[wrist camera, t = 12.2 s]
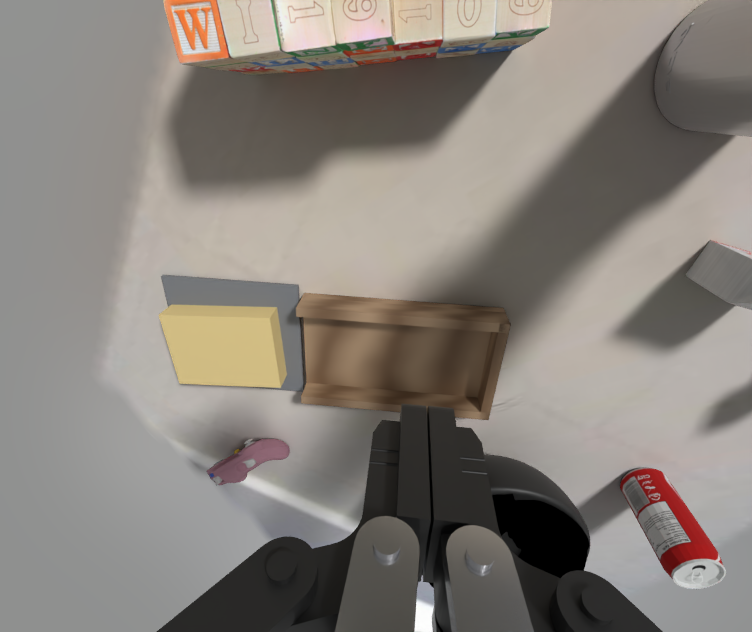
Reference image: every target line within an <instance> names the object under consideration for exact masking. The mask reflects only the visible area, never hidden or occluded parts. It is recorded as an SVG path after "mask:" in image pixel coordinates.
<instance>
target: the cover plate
mask: <svg viewBox="0 0 752 632" xmlns="http://www.w3.org/2000/svg"><path fill="white" fill-rule="evenodd" d="M159 318H160V321H161V324H162V328H163V331H164V334H165V337H166V341H167V344H168V347H169V350H170V354H171V357H172V360H173V363H174V367H175V370H176V373H177V377H178V380H179V383H180V384H200V385H224V386H247V387H271V388H281V386H282V384H283V382H284V380H285V378H286V376H287V372H286V365H285V358H284V351H283V344H282V338H281V331H280V324H279V317H278V310H277V307H247V306H208V305H170V306H169V307H168V308H167V309H165V310H164V311H163V312H162V313H161V314H159Z"/></svg>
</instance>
